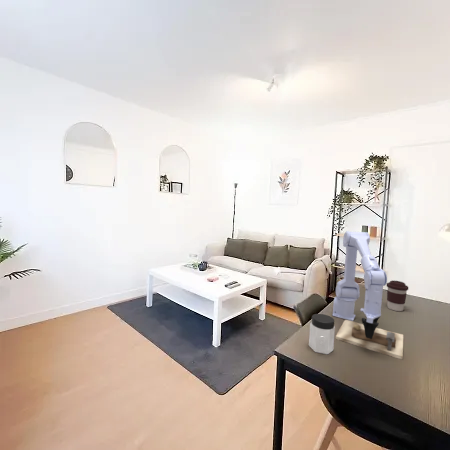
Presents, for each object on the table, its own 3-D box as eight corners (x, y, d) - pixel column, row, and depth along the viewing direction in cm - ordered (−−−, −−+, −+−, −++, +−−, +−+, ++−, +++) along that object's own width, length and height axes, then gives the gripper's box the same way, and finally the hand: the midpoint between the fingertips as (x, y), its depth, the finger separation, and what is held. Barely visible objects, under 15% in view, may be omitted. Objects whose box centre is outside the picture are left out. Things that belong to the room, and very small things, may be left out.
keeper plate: (335, 338, 108) (336, 325, 107) (344, 321, 124) (345, 309, 124) (402, 359, 95) (403, 343, 94) (403, 337, 111) (404, 324, 111)
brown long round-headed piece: (351, 336, 107) (351, 329, 107) (351, 333, 110) (352, 326, 110) (395, 348, 100) (396, 340, 99) (394, 344, 103) (395, 336, 102)
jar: (308, 351, 98) (310, 320, 97) (308, 340, 106) (310, 312, 105) (334, 356, 95) (336, 324, 94) (332, 345, 103) (334, 315, 102)
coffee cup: (405, 308, 144) (408, 281, 143) (406, 314, 136) (409, 286, 135) (384, 303, 150) (387, 278, 148) (384, 309, 141) (386, 282, 140)
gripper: (364, 293, 110) (361, 324, 111) (358, 303, 98) (355, 338, 99) (383, 297, 106) (380, 329, 107) (380, 308, 94) (377, 344, 95)
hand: (370, 333), depth 103 cm, fingers open, 7 cm apart
